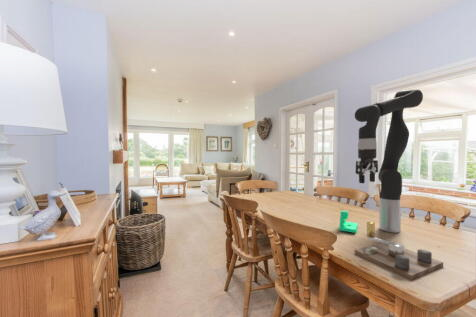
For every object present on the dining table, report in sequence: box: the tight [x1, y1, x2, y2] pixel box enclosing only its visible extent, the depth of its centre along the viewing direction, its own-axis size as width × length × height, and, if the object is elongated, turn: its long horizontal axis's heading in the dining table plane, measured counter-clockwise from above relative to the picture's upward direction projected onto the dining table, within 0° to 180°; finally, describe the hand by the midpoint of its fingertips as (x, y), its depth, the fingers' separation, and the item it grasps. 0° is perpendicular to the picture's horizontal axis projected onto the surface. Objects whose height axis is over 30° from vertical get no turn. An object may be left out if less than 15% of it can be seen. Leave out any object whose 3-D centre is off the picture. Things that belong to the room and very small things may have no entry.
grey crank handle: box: [366, 221, 405, 257], centre depth 89 cm, size 14×5×10 cm, turn 28°
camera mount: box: [338, 210, 359, 233], centre depth 118 cm, size 12×8×10 cm, turn 146°
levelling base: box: [354, 242, 444, 281], centre depth 85 cm, size 20×21×5 cm
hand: (367, 182), depth 103 cm, fingers open, 8 cm apart
